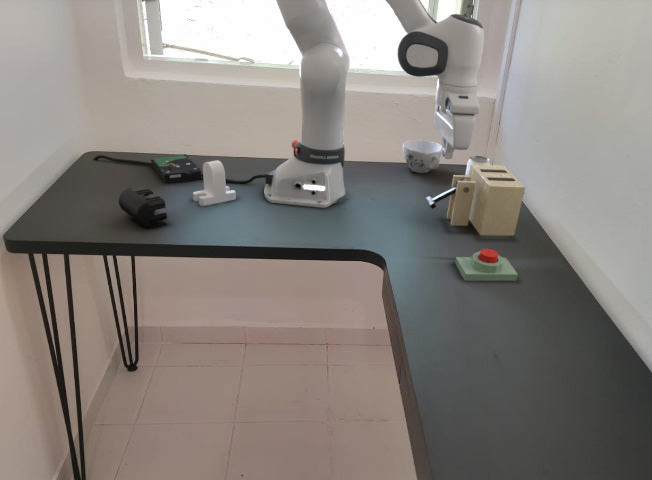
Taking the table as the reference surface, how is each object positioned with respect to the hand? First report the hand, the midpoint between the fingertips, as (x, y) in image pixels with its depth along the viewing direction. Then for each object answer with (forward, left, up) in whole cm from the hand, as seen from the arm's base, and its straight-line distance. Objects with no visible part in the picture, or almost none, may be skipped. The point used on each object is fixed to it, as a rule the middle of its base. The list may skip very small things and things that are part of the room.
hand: (446, 157), depth 140 cm
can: (+16, +23, -19) cm, 34 cm away
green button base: (+6, -21, -19) cm, 29 cm away
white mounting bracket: (-56, +18, -19) cm, 61 cm away
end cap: (-71, +3, -19) cm, 73 cm away
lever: (+4, +4, -11) cm, 13 cm away
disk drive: (-68, +37, -19) cm, 79 cm away
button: (+6, -21, -16) cm, 27 cm away
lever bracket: (+6, +4, -19) cm, 21 cm away
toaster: (+15, +4, -19) cm, 25 cm away
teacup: (+6, +46, -19) cm, 50 cm away
